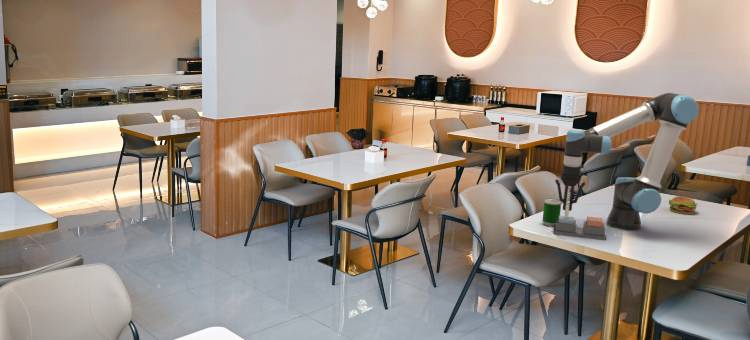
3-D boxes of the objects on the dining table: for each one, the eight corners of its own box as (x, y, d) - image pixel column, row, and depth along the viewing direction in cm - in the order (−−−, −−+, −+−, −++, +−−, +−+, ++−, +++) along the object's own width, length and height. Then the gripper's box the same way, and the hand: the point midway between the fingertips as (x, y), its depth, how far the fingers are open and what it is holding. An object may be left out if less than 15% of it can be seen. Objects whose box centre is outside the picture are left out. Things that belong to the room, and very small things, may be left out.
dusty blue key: (573, 223, 298) (573, 217, 298) (573, 227, 292) (574, 220, 292) (558, 221, 300) (558, 215, 299) (558, 225, 294) (559, 218, 293)
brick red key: (601, 224, 295) (602, 218, 295) (602, 228, 289) (603, 221, 289) (586, 223, 297) (587, 216, 296) (586, 226, 291) (587, 220, 290)
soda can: (559, 227, 304) (562, 202, 302) (542, 226, 305) (545, 200, 303) (558, 223, 311) (560, 198, 309) (541, 221, 313) (544, 197, 310)
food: (698, 211, 349) (700, 196, 348) (694, 216, 338) (696, 201, 336) (669, 206, 356) (671, 192, 355) (665, 211, 345) (667, 196, 343)
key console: (604, 233, 298) (605, 222, 297) (605, 240, 287) (607, 229, 286) (553, 227, 303) (554, 217, 302) (553, 234, 293) (554, 223, 292)
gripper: (587, 165, 293) (581, 217, 297) (556, 162, 296) (551, 213, 301) (588, 168, 286) (581, 221, 290) (556, 165, 289) (551, 217, 293)
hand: (566, 217), depth 295 cm, fingers closed
